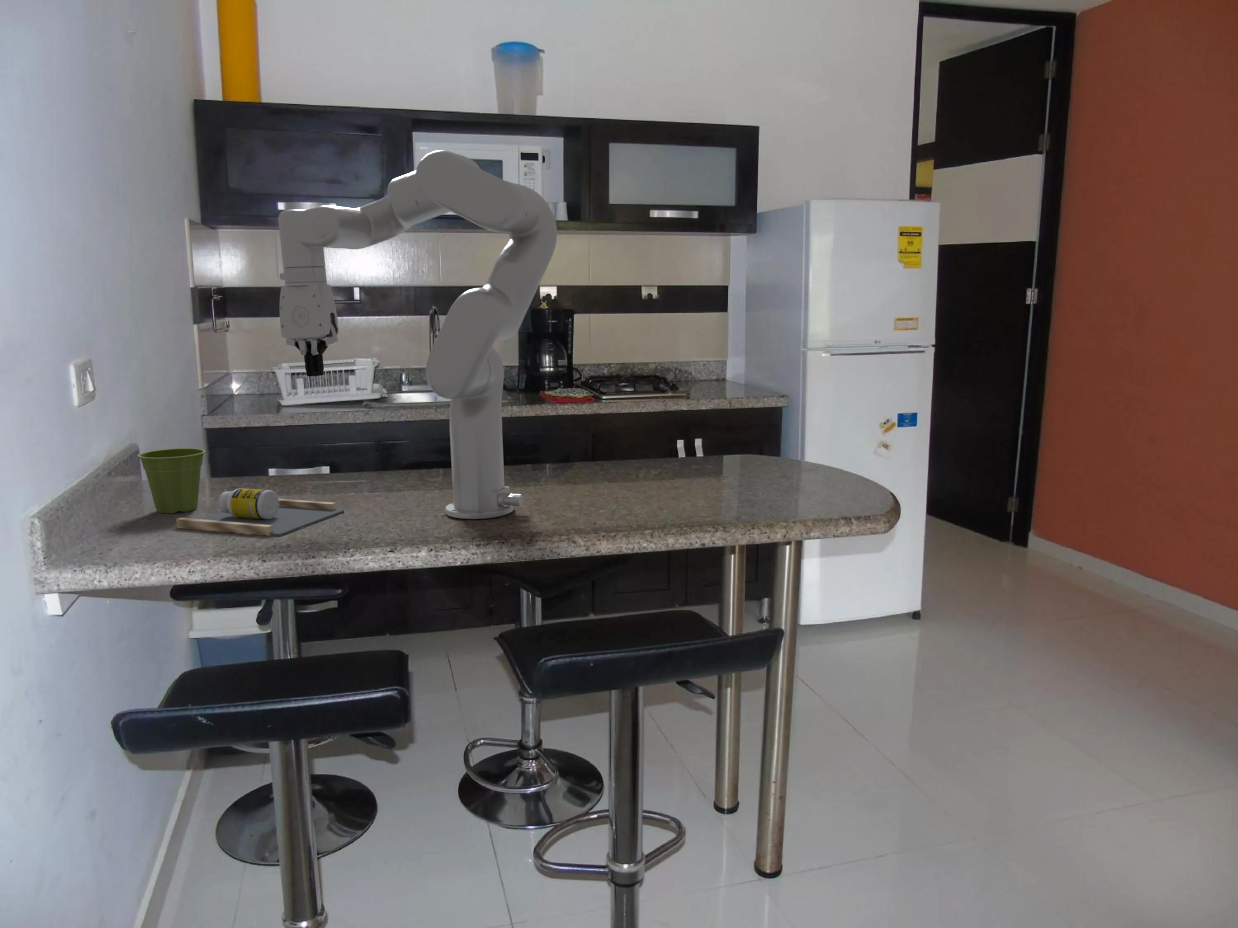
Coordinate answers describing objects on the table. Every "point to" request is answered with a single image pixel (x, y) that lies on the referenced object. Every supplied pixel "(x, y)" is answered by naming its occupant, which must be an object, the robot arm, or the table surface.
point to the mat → (282, 518)
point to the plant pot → (173, 477)
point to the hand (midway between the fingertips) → (315, 375)
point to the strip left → (224, 526)
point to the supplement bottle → (249, 503)
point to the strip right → (307, 504)
